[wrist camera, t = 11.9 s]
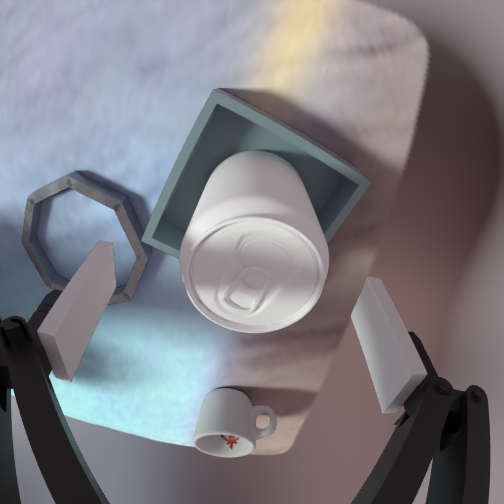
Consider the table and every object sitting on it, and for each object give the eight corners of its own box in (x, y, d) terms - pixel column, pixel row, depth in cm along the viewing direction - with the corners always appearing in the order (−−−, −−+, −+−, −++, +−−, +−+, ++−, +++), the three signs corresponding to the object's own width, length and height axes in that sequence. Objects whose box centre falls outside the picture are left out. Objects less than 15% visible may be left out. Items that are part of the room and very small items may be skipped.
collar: (26, 262, 31) (19, 269, 30) (43, 154, 25) (34, 159, 23) (125, 315, 34) (121, 324, 33) (167, 215, 28) (163, 222, 27)
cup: (269, 375, 39) (270, 428, 32) (280, 406, 43) (282, 453, 36) (190, 384, 41) (182, 434, 34) (210, 413, 45) (205, 458, 38)
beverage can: (322, 179, 26) (365, 256, 15) (272, 253, 29) (279, 355, 19) (234, 130, 24) (217, 175, 13) (190, 213, 27) (153, 304, 17)
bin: (154, 219, 28) (141, 240, 25) (219, 88, 22) (212, 89, 19) (277, 278, 31) (279, 305, 28) (356, 167, 26) (371, 182, 22)
